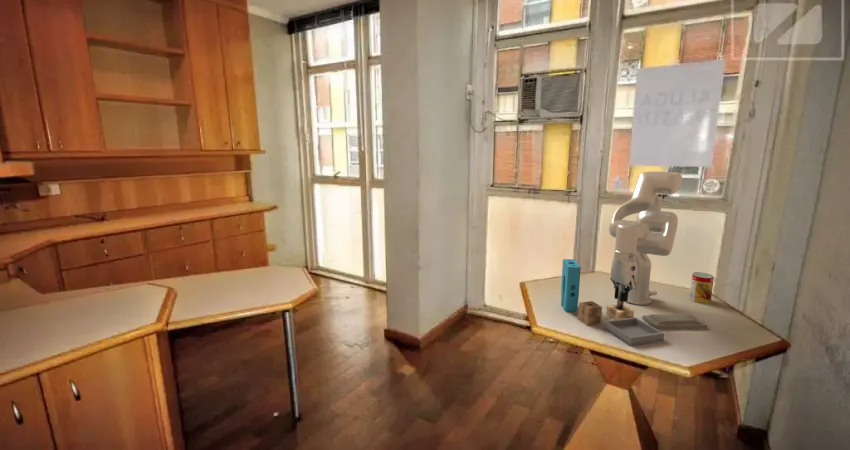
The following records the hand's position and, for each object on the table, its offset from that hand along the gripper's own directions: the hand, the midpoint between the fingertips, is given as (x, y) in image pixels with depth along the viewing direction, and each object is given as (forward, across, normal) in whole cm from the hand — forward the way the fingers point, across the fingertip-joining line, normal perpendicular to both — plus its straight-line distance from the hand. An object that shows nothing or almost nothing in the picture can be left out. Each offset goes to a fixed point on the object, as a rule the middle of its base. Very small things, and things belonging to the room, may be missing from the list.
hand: (620, 299), depth 159 cm
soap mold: (+9, -10, -16) cm, 21 cm away
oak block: (+8, 0, 0) cm, 8 cm away
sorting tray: (+8, -14, +6) cm, 17 cm away
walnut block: (+8, 0, +14) cm, 16 cm away
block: (+8, +14, +14) cm, 21 cm away
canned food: (+7, +6, -47) cm, 48 cm away
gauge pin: (+4, 0, 0) cm, 4 cm away
